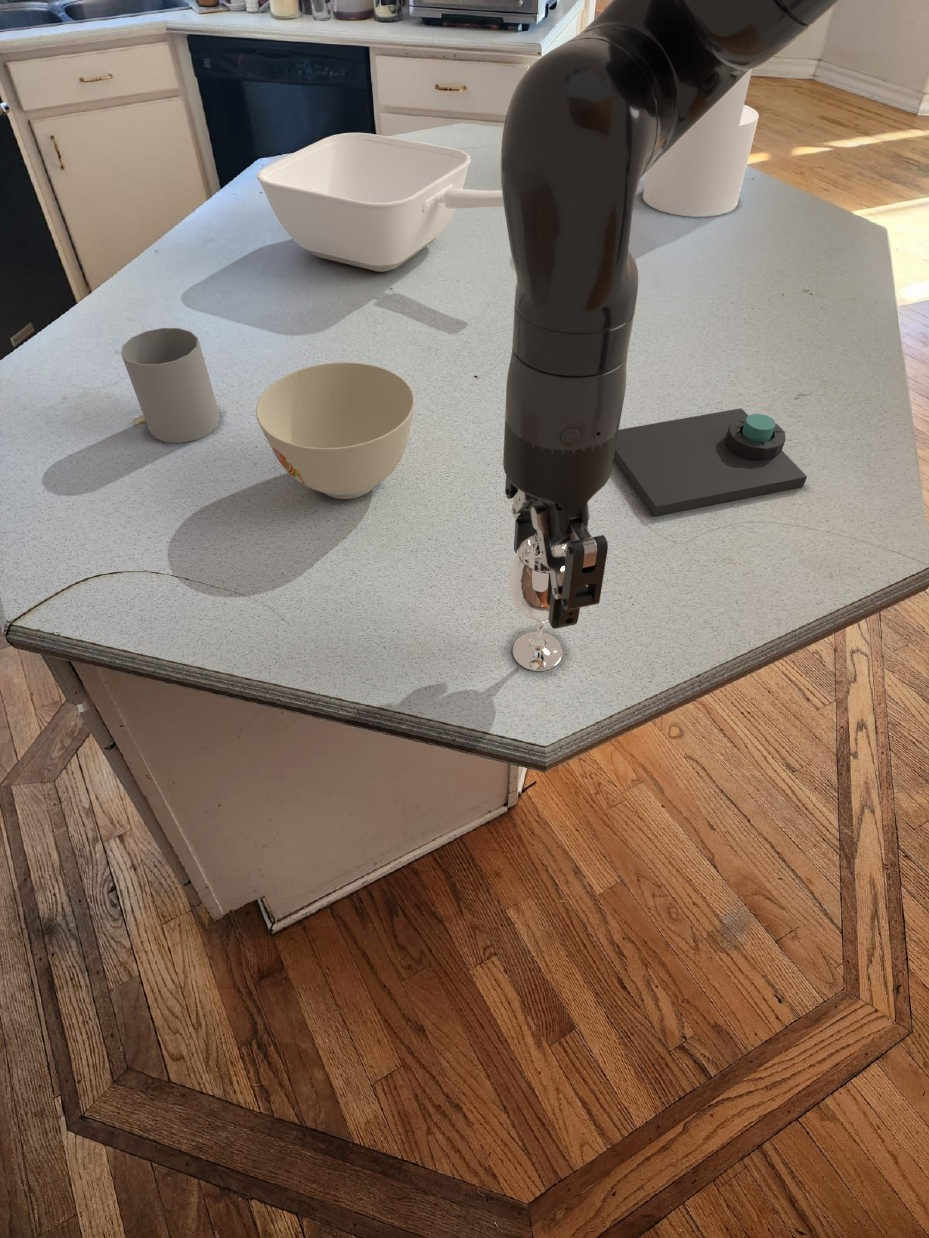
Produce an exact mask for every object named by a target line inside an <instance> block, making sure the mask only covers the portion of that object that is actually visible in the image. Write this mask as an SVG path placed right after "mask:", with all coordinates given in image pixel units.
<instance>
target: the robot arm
mask: <svg viewBox="0 0 929 1238" xmlns="http://www.w3.org/2000/svg"><path fill="white" fill-rule="evenodd" d="M839 1H840V0H611V2H610V3H609V4H608V5H606V7H605V8H604V9H602V11H600V13H599V14H598V15H596V17H595V18H594V19H593V20H592V21H591V22H590V23H589V24H588V25H587V26H586V27H585V28H584V29H583V30H582V31H581V32H580V33H578V34H577V35H576V36H574V37H573V38H571V39H568V40H567V41H565V42H564V43H562V44H560V45H559V46H557V47H555V48H553V49H552V50H550V51H548V52H546V53H545V54H544V55H542V56H541V57H539V58H538V59H537V60H536V61H534V62H533V63H532V65H530V66H529V68H527V70H526V71H525V73H524V74H523V75H522V77H521V78H520V80H519V81H518V83H517V85H516V87H515V89H514V91H513V93H512V95H511V98H510V101H509V104H508V106H507V111H506V115H505V119H504V124H503V130H502V136H501V137H502V138H501V147H500V184H501V190H502V195H503V203H504V207H503V209H504V215H505V223H506V228H507V234H508V243H509V250H510V254H511V258H512V263H513V267H514V271H515V275H516V276H515V277H516V284H515V292H514V306H513V327H512V347H511V355H510V359H509V360H510V361H509V365H508V369H507V378H506V387H505V388H506V389H505V409H504V413H505V414H504V435H503V436H504V437H503V454H502V455H503V457H502V465H503V471H504V473H505V487H504V488H505V489H504V494H505V496H506V498H507V500H511V499H512V501H513V503H512V505H511V509H510V510H511V514H512V516H513V518H514V519H515V521H514V522H515V523H514V524H515V525H514V538H513V551H514V553H515V554H516V553H517V550H518V548H519V546H520V544H521V543H522V541H523V540H525V539H526V538H527V537H529V536H532V535H535V534H537V535H538V541H539V548H540V555H541V562H542V564H543V566H545V567H547V568H549V571H550V578H551V585H552V592H551V600H550V609H549V617H548V621H547V622H549V625H550V627H551V629H555V630H557V629H562V628H566V627H570V626H574V625H577V623H578V622H579V618H580V610H581V608H585V607H589V606H595V605H598V604H600V602H601V594H602V588H603V583H604V577H605V576H604V575H605V570H606V569H605V568H606V563H607V556H608V552H609V551H608V550H609V545H608V539H607V537H606V536H605V535H604V534H601V535H600V534H599V535H596V536H592V535H591V533H590V532H589V528H588V526H589V521H590V518H591V517H590V509H589V501H590V500H591V499H592V498H593V497H594V496H595V495H596V494H597V493H599V491H600V490H602V489H603V487H605V485H606V484H607V483H608V481H609V479H610V477H611V475H612V470H613V464H614V454H615V448H616V442H617V436H618V430H620V424H621V419H622V414H623V413H622V412H623V407H624V401H625V395H626V388H627V363H628V362H627V361H628V356H629V355H628V352H629V350H630V343H631V342H630V341H631V337H632V331H633V326H634V320H635V313H636V306H637V300H638V291H639V270H638V265H637V262H636V259H635V257H634V256H633V254H632V252H631V251H630V250H629V248H630V237H631V229H632V221H633V220H632V219H633V211H634V206H635V201H636V196H637V192H638V188H639V184H640V180H641V179H642V178H643V176H644V175H646V173H647V171H648V170H649V169H650V168H651V167H652V166H653V165H654V164H655V163H656V162H657V161H658V160H659V159H660V158H661V157H662V156H663V155H664V154H665V153H666V152H667V151H668V150H669V149H670V148H671V147H672V146H673V145H674V144H675V143H676V142H677V141H678V140H679V139H680V138H681V137H682V136H683V135H684V134H685V133H686V132H687V131H688V130H689V129H690V128H691V127H692V126H693V125H694V124H695V123H696V122H697V121H698V120H699V119H700V118H701V117H702V116H703V115H704V114H705V113H706V112H707V111H708V110H709V109H711V108H712V107H713V106H714V105H715V104H716V103H717V102H718V101H719V100H720V99H721V98H722V97H723V96H724V95H725V94H726V93H727V92H728V91H729V90H730V89H731V88H732V87H733V86H734V85H735V84H736V83H737V82H738V81H739V80H740V79H741V78H742V77H743V76H744V75H745V74H746V73H747V72H748V71H749V70H750V69H752V70H753V69H755V68H757V67H759V66H761V65H763V64H764V63H766V62H768V61H769V60H770V59H773V57H775V56H776V55H778V54H779V53H780V52H782V51H783V50H784V49H785V48H787V47H788V46H789V45H791V43H793V42H794V41H795V40H796V39H798V38H800V36H801V35H803V33H805V32H806V31H807V30H809V28H810V27H811V25H814V24H815V23H816V22H817V21H818V20H819V19H820V18H822V16H824V15H825V14H826V13H827V12H828V11H829V10H830V9H831V8H833V7H834V6H835V5H836V4H837V3H838V2H839ZM563 544H567V550H566V551H564V553H563V554H558V555H553V553H552V549H551V546H558V545H563ZM563 566H565V569H564V579H563V581H562V576H561V568H562V567H563Z"/></svg>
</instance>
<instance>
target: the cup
mask: <svg viewBox="0 0 929 1238" xmlns="http://www.w3.org/2000/svg"><path fill="white" fill-rule="evenodd" d="M120 355H121V358H122V360H123V363H124V366H125V369H126V372H127V374H128V377H129V379H130V383H131V385H132V389H133V391H134V393H135V396H136V399H137V402H138V404H139V407H140V410H141V412H142V415H143V417H144V421H145V422H146V426H147V429H148V431H149V433H150V434H151V436H152V437H153V438H154V439H156V440H158V441H161V442H165V443H167V444H184V443H188V442H193V441H197V440H201V439H202V438H204V437H206V436H208V435H210V434H211V433H213V432H214V431H215V429H216V428H217V427H218V426H219V425H220V422H221V421H220V419H221V418H220V417H221V416H220V411H219V407H218V404H217V400H216V397H215V392H214V389H213V386H212V382H211V378H210V374H209V372H208V369H207V364H206V360H205V357H204V354H203V351H202V346H201V343H200V340H199V337H197V336H196V335H195V333H193V332H192V331H191V330H186V329H183V328H180V327H161V328H156V329H155V328H154V329H150V330H146V331H143V332H141V333H139V334H136V335H134V336H132V337H130V339H128V340H127V341H126V342H125V343H123V345H122V347H121V352H120Z"/></svg>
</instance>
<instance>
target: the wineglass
mask: <svg viewBox="0 0 929 1238" xmlns="http://www.w3.org/2000/svg"><path fill="white" fill-rule="evenodd" d="M551 549H552V553H553V555H558V554H563V553H564V551H566V550H567V544H563V545H558V546H551ZM564 569H565V566H563V567H562V568H561V576H562V581H563V579H564ZM508 578H509V579H508V590H509V595H510V598H511V601H512V604H513V605H514V606H515V608H516V609H517V610H518V611H519V612H520V613H521V614H523V615H524V616H525V617H527V618H529V619H532V620H535V623H536V628H537V629H536V631H532V632H527V633H525V634H522V635H521V636H520V637H518V638H517V639H516V640H515V641H514V643H513V646H512V656H513V658H514V659H515V661H516V662H517V663H518V665H520V666H521V667H523V668H525V669H528V670H530V671H535V672H544V671H548V670H551V669H553V668H555V667H556V666H557V665H558V664H559V663H560V662H561V660H562V658H563V653H564V652H563V648H562V645H561V643H560V642H559V641H558V639H556V638H555V637H554V636H552V635H550V634H548V633H545V632H543V629H544V627H545V624H546V623H547V622H549V621H548V617H549V609H550V600H551V592H552V585H551V578H550V571H549V568H547V567H545V566H543V564H542V562H541V555H540V548H539V541H538V535H537V534H535V535H532V536H529V537H527V538H526V539H525V540H523V541H522V543H521V544H520V546H519V548H518V550H517V553H515V556H514V558H513V560H512V563H511V567H510V570H509V576H508Z"/></svg>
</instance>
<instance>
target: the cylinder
mask: <svg viewBox="0 0 929 1238" xmlns="http://www.w3.org/2000/svg"><path fill="white" fill-rule="evenodd" d="M752 72H753V69H750V70H749V71H748V72H747V73H746V74H745V75H744V76H743V77H742V78H741V79H740V80H739V81H738V82H737V83H736V84H735V85H734V86H733V87H732V88H731V89H730V90H729V91H728V92H727V93H726V94H725V95H724V96H723V97H722V98H721V99H720V100H719V101H718V102H717V103H716V104H715V105H714V106H713V107H712V108H711V109H709V110H708V111H707V112H706V113H705V114H704V115H703V116H702V117H701V118H700V119H699V120H698V121H697V122H696V123H695V124H694V125H693V126H692V127H691V128H690V129H689V130H688V131H687V132H686V133H685V134H684V135H683V136H682V137H681V138H680V139H679V140H678V141H677V142H676V143H675V144H674V145H673V146H672V147H671V148H670V149H669V150H668V151H667V152H666V153H665V154H664V155H663V156H662V157H661V158H660V159H659V160H658V161H657V162H656V163H655V164H654V165H653V166H652V167H651V168H650V169H649V170H648V171H647V172H646V173H645V181H644V185H643V193H642V199H643V201H644V203H646V204H647V205H648V206H649V207H651V208H653V209H655V210H658V211H659V212H662V213H663V212H664V213H666V214H670V215H676V216H681V217H691V218H692V217H693V218H699V217H704V218H705V217H715V216H721V215H723V214H728V213H730V212H731V211H733V210H735V209H736V208H737V206H738V203H739V199H740V195H741V191H742V187H743V183H744V179H745V175H746V171H747V167H748V162H749V158H750V155H751V150H752V147H753V144H754V143H753V142H754V138H755V133H756V130H757V126H758V122H759V118H760V115H759V112H758V111H757V110H756V109H754V108H753V107H750V106H749V105H747V104H745V102H746V98H747V93H748V90H749V86H750V80H751V77H752Z"/></svg>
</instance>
